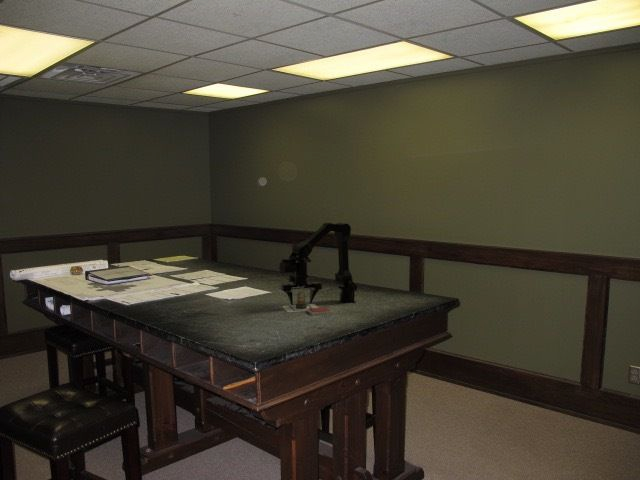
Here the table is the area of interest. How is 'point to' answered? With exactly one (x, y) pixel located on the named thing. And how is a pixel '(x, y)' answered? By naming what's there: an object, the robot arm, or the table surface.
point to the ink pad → (319, 311)
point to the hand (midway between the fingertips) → (301, 304)
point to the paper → (293, 309)
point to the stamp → (301, 301)
